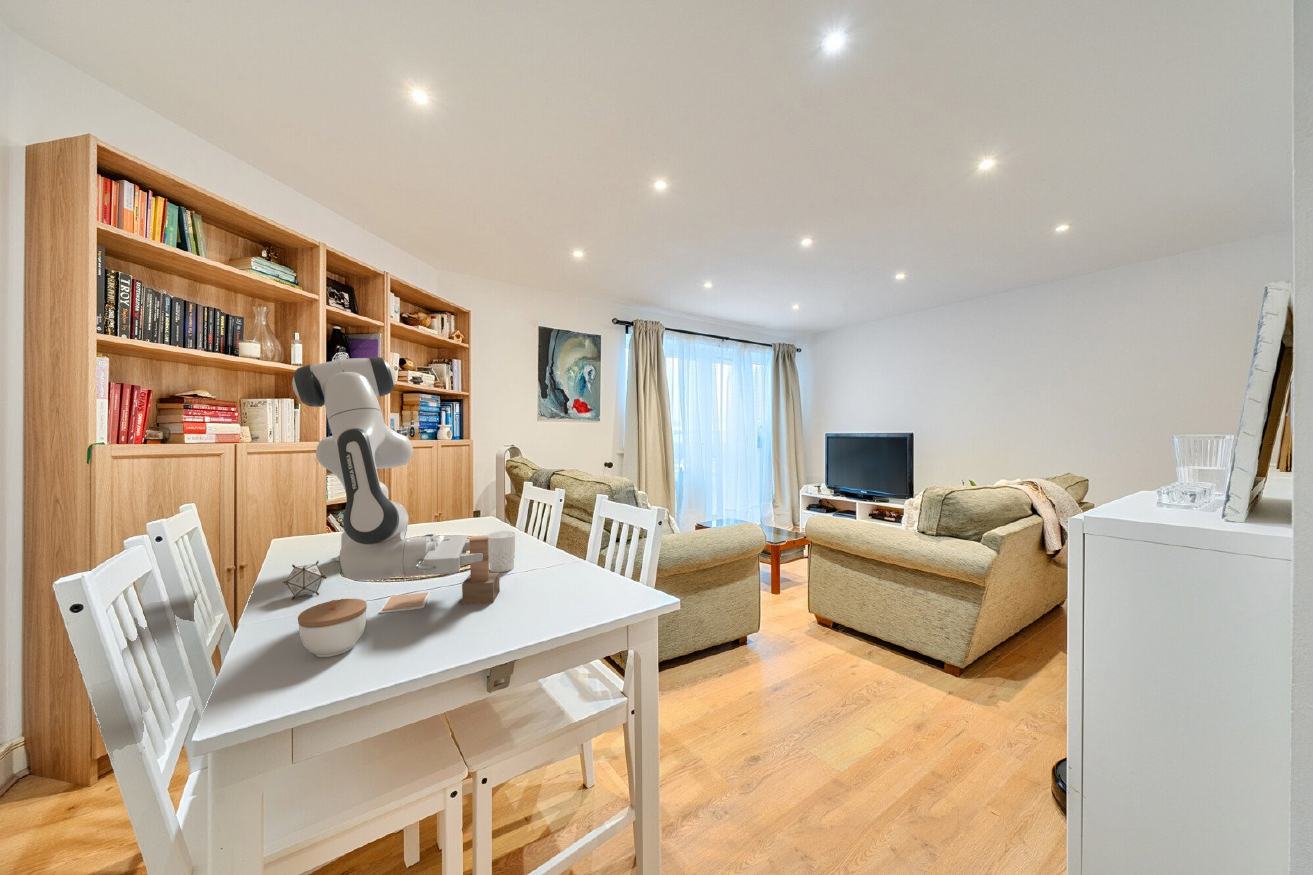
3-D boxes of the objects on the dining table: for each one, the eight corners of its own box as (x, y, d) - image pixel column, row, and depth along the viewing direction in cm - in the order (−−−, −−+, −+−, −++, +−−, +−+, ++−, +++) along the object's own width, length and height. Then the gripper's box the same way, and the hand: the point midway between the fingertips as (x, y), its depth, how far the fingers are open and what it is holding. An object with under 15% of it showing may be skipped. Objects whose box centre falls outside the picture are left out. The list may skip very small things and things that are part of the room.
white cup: (481, 571, 131) (480, 536, 131) (499, 563, 139) (498, 530, 138) (504, 574, 129) (503, 539, 128) (521, 565, 136) (520, 532, 136)
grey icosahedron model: (297, 611, 114) (270, 580, 113) (331, 588, 121) (306, 559, 120) (304, 602, 109) (276, 569, 108) (340, 579, 116) (314, 548, 115)
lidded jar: (295, 649, 88) (293, 601, 88) (360, 630, 96) (358, 586, 95) (304, 671, 80) (302, 618, 80) (374, 648, 88) (372, 600, 88)
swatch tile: (389, 598, 113) (389, 595, 113) (430, 593, 115) (430, 591, 115) (378, 613, 104) (378, 610, 104) (423, 608, 106) (423, 605, 106)
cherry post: (471, 576, 113) (471, 536, 113) (489, 574, 115) (488, 535, 114) (470, 582, 110) (469, 540, 109) (488, 580, 111) (487, 539, 110)
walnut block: (470, 593, 116) (470, 573, 115) (499, 592, 116) (499, 572, 116) (462, 605, 109) (462, 584, 108) (493, 603, 109) (492, 582, 109)
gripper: (411, 555, 98) (480, 549, 102) (429, 532, 118) (486, 528, 122) (412, 584, 98) (481, 577, 102) (429, 556, 118) (487, 551, 122)
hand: (484, 550), depth 112 cm, fingers open, 8 cm apart
